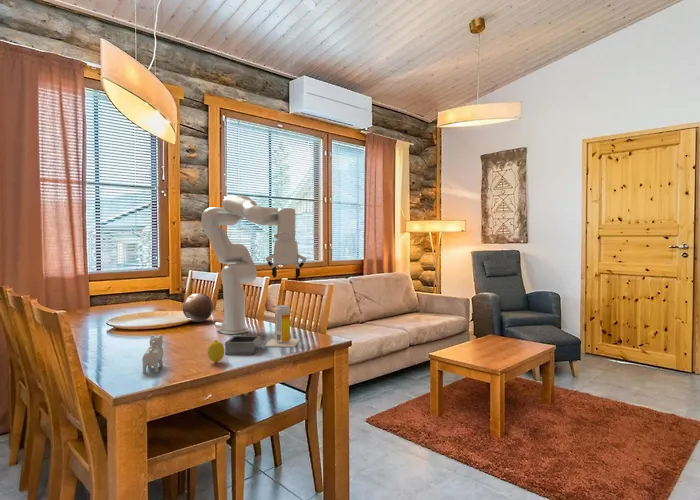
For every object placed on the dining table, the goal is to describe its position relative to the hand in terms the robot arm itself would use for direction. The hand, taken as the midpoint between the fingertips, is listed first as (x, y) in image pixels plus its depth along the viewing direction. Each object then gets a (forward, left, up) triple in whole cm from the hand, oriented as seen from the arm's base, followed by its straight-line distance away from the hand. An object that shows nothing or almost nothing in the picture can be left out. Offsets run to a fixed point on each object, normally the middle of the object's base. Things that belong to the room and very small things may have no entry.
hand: (286, 277), depth 190 cm
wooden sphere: (-53, +39, -27) cm, 72 cm away
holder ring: (-13, -18, -27) cm, 35 cm away
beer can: (0, -6, -26) cm, 27 cm away
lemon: (-18, -35, -27) cm, 48 cm away
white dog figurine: (-37, -42, -27) cm, 62 cm away
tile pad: (0, -6, -27) cm, 27 cm away
